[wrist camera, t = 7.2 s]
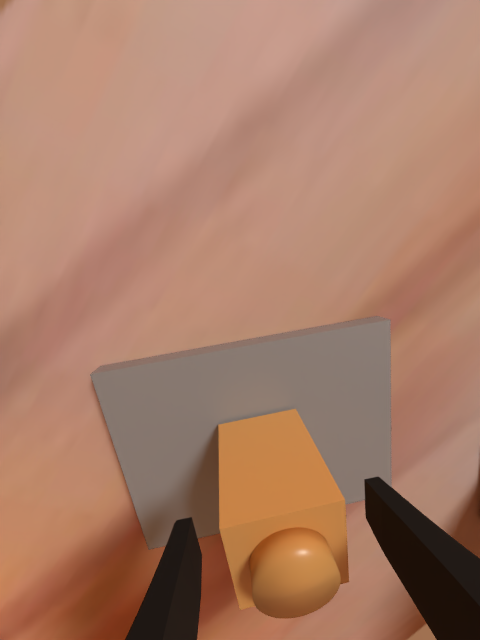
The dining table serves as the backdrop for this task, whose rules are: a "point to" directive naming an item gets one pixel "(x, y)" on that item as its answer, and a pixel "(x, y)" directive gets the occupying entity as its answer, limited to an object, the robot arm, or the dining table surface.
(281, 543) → the orange cube with sphere
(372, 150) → the dining table surface
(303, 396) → the plate
